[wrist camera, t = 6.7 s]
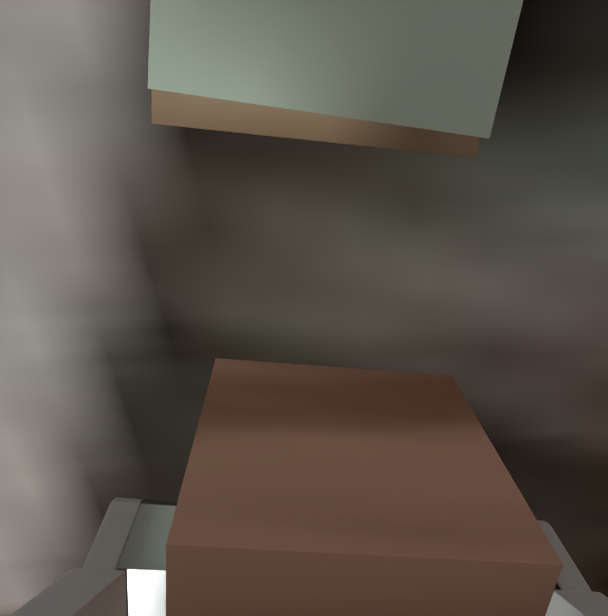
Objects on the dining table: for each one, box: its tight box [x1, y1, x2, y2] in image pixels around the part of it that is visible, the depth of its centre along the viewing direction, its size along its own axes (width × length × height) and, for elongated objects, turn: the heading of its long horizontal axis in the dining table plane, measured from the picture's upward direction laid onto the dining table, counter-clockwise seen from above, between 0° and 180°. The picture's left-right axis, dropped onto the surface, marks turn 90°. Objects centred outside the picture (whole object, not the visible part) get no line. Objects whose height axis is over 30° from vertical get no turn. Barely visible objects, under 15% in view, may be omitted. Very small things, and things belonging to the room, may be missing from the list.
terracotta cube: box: [166, 358, 563, 616], centre depth 10 cm, size 5×5×5 cm
